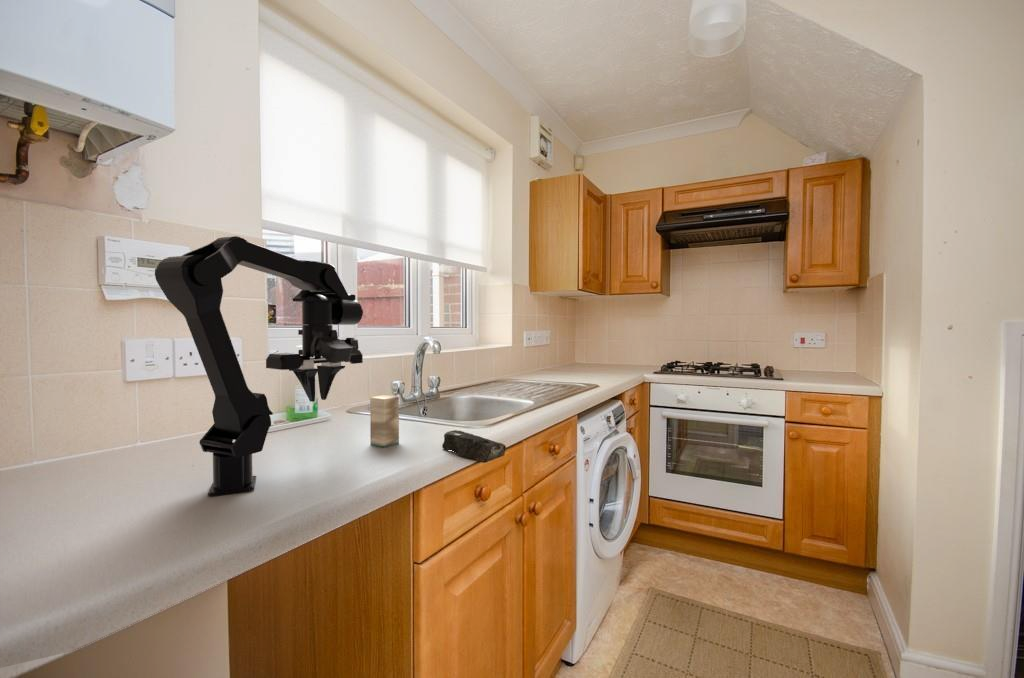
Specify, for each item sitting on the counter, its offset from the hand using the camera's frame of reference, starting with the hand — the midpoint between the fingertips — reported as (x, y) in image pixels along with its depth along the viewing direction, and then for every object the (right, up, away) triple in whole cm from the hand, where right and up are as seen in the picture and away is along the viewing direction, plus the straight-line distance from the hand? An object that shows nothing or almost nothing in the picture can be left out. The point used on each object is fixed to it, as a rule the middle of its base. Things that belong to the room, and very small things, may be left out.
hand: (318, 400), depth 94 cm
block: (+11, -12, +12) cm, 20 cm away
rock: (+31, -13, +5) cm, 34 cm away
